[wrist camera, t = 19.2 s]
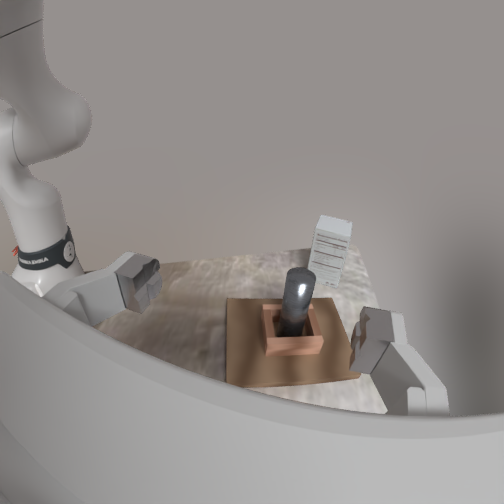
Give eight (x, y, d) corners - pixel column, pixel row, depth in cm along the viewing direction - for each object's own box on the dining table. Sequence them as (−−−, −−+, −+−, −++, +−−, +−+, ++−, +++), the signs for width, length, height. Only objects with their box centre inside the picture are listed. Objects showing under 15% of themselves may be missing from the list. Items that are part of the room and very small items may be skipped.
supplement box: (311, 262, 64) (320, 213, 57) (341, 270, 61) (354, 221, 55) (303, 280, 58) (314, 226, 51) (337, 289, 56) (351, 236, 49)
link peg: (278, 344, 41) (289, 285, 35) (275, 326, 44) (284, 267, 38) (302, 343, 41) (319, 285, 35) (298, 325, 45) (312, 267, 38)
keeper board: (226, 387, 35) (226, 371, 33) (227, 303, 50) (227, 285, 48) (358, 378, 37) (368, 362, 34) (330, 302, 52) (335, 285, 50)
